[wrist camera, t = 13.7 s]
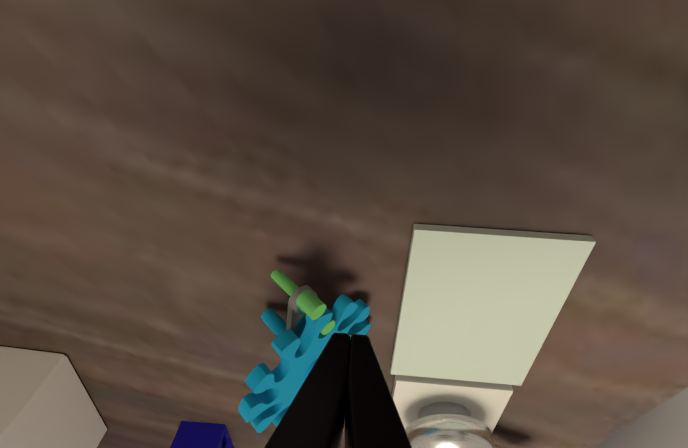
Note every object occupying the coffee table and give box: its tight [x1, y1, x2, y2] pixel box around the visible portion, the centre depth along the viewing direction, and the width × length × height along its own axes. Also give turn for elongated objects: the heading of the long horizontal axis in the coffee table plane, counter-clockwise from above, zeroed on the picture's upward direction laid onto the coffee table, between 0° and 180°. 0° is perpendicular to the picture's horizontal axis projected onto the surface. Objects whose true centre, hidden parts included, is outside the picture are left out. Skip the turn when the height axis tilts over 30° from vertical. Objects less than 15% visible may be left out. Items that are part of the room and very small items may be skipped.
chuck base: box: [392, 375, 513, 432], centre depth 32 cm, size 9×9×2 cm
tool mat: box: [390, 224, 596, 386], centre depth 25 cm, size 10×14×1 cm
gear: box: [238, 269, 371, 433], centre depth 25 cm, size 11×6×10 cm
